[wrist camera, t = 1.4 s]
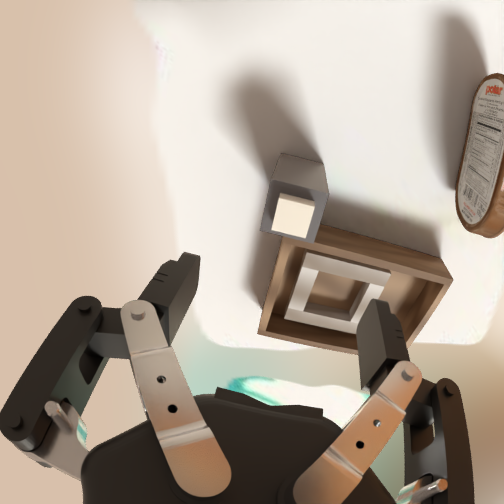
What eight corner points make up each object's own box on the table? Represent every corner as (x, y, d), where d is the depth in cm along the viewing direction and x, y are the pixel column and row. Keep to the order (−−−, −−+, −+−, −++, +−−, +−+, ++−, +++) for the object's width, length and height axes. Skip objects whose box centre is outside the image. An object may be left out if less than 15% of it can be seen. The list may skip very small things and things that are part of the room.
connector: (281, 153, 26) (269, 183, 19) (323, 163, 26) (330, 199, 19) (272, 192, 29) (257, 237, 21) (312, 202, 28) (313, 250, 21)
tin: (465, 214, 26) (502, 257, 19) (442, 209, 26) (477, 252, 19) (493, 79, 18) (545, 87, 11) (469, 68, 18) (520, 70, 11)
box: (287, 215, 30) (284, 234, 26) (441, 258, 29) (453, 279, 25) (262, 310, 37) (257, 334, 33) (393, 338, 36) (398, 361, 32)
